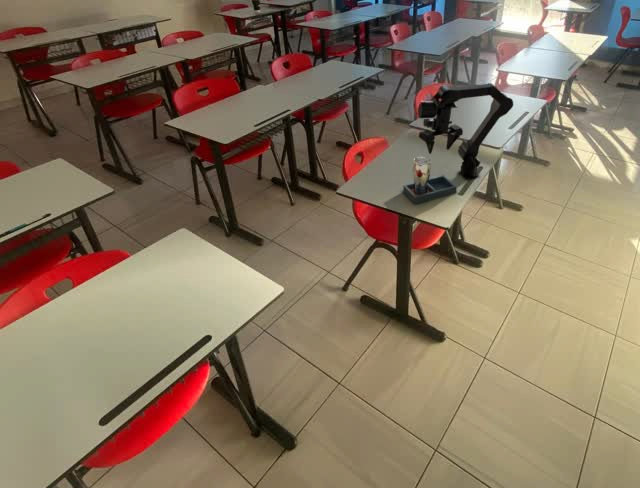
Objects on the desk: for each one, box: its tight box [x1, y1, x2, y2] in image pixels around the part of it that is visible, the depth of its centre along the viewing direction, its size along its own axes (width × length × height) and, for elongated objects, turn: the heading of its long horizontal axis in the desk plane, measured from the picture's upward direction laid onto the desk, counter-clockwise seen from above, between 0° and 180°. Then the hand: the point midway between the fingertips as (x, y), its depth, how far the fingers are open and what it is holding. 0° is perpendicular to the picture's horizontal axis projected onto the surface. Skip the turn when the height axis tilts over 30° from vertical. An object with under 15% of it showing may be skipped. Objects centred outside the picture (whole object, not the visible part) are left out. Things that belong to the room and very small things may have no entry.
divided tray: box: [402, 174, 457, 205], centre depth 172 cm, size 19×10×3 cm, turn 115°
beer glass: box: [412, 156, 432, 196], centre depth 167 cm, size 7×7×15 cm
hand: (438, 151), depth 176 cm, fingers open, 9 cm apart
